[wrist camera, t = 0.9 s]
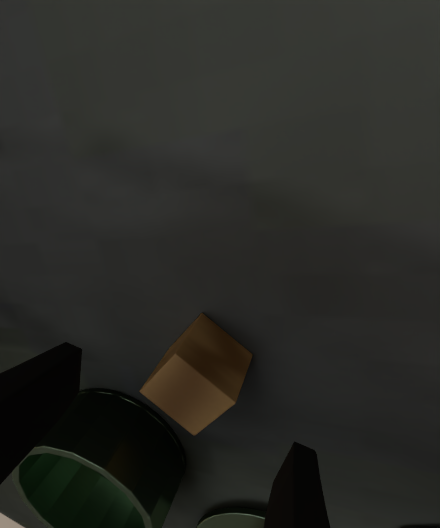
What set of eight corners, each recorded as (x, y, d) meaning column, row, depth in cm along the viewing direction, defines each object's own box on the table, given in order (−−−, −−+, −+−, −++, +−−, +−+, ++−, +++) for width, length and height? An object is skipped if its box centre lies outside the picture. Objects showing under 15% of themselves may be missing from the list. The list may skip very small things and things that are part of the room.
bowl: (210, 487, 28) (184, 565, 24) (110, 494, 33) (71, 559, 28) (137, 375, 26) (91, 438, 21) (39, 400, 30) (-16, 456, 26)
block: (253, 354, 22) (236, 403, 18) (215, 386, 24) (194, 436, 20) (202, 312, 22) (175, 353, 18) (168, 348, 24) (139, 391, 20)
